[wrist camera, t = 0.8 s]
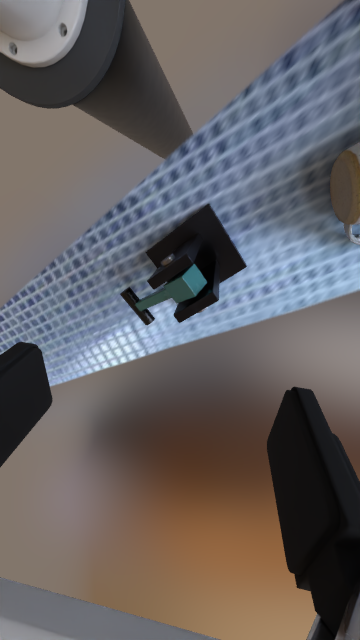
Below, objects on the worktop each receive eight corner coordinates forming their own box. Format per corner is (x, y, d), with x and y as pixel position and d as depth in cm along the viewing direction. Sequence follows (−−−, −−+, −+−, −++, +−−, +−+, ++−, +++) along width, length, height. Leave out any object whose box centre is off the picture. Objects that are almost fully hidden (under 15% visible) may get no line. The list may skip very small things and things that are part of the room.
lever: (152, 317, 32) (141, 329, 30) (128, 286, 30) (115, 297, 29) (215, 293, 23) (204, 308, 22) (186, 250, 22) (172, 263, 21)
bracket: (185, 301, 36) (168, 350, 25) (147, 250, 33) (110, 279, 22) (246, 264, 32) (259, 302, 21) (209, 203, 29) (201, 209, 18)
